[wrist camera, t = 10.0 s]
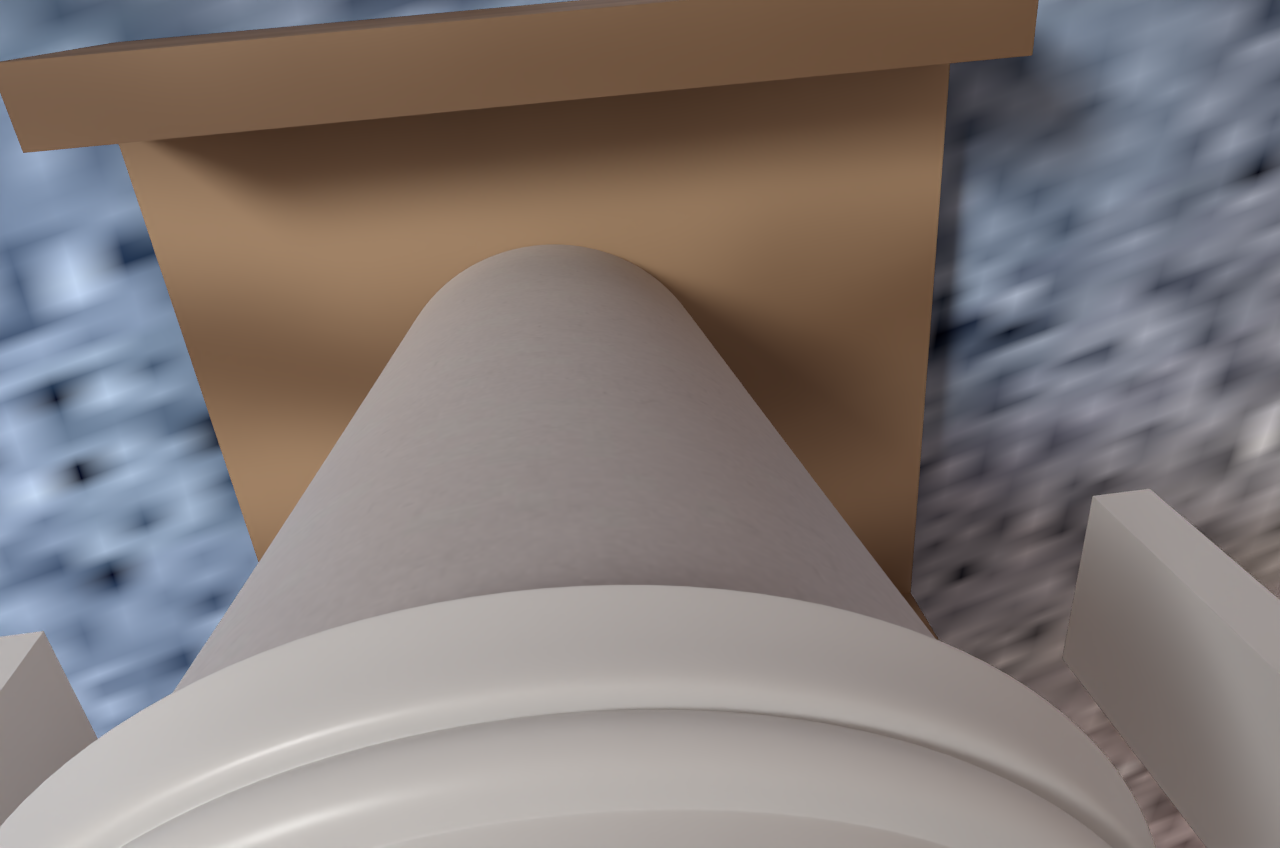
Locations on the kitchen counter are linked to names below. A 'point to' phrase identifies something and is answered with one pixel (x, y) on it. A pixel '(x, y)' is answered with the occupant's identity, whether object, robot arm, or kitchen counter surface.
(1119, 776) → the coffee cup
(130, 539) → the kitchen counter surface
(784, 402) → the dish rack
